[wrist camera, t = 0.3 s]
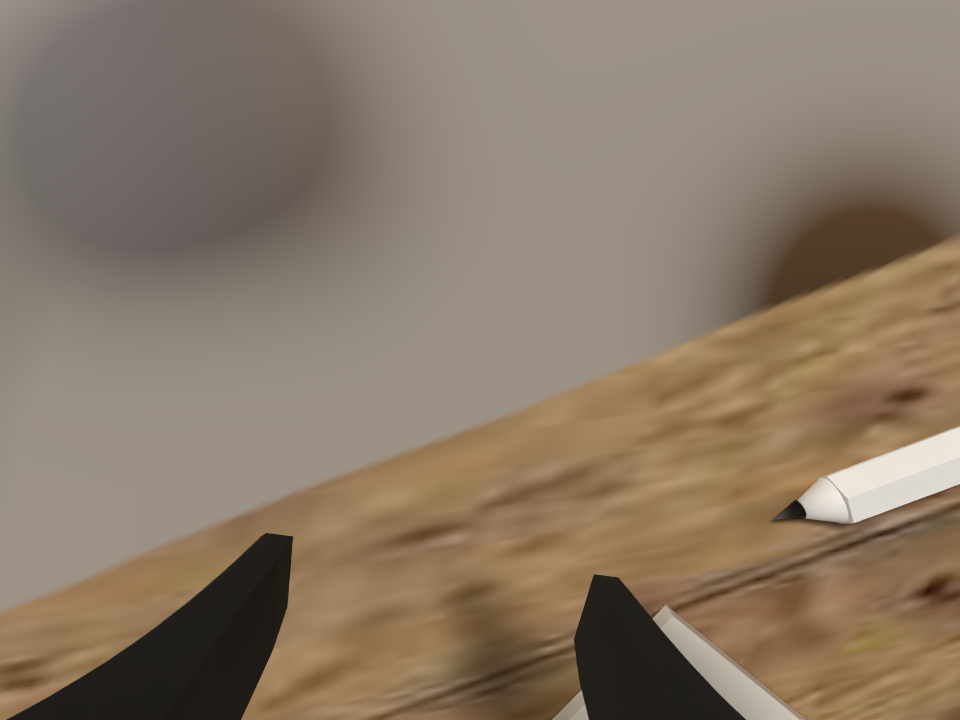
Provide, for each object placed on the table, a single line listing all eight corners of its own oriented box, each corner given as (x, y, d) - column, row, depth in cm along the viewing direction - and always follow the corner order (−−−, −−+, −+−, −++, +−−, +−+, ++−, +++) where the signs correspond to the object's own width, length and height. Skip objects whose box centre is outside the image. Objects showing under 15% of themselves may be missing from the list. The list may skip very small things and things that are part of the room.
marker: (751, 500, 25) (1070, 382, 25) (773, 544, 25) (1102, 424, 24) (771, 497, 23) (1126, 366, 22) (797, 546, 22) (1164, 411, 22)
